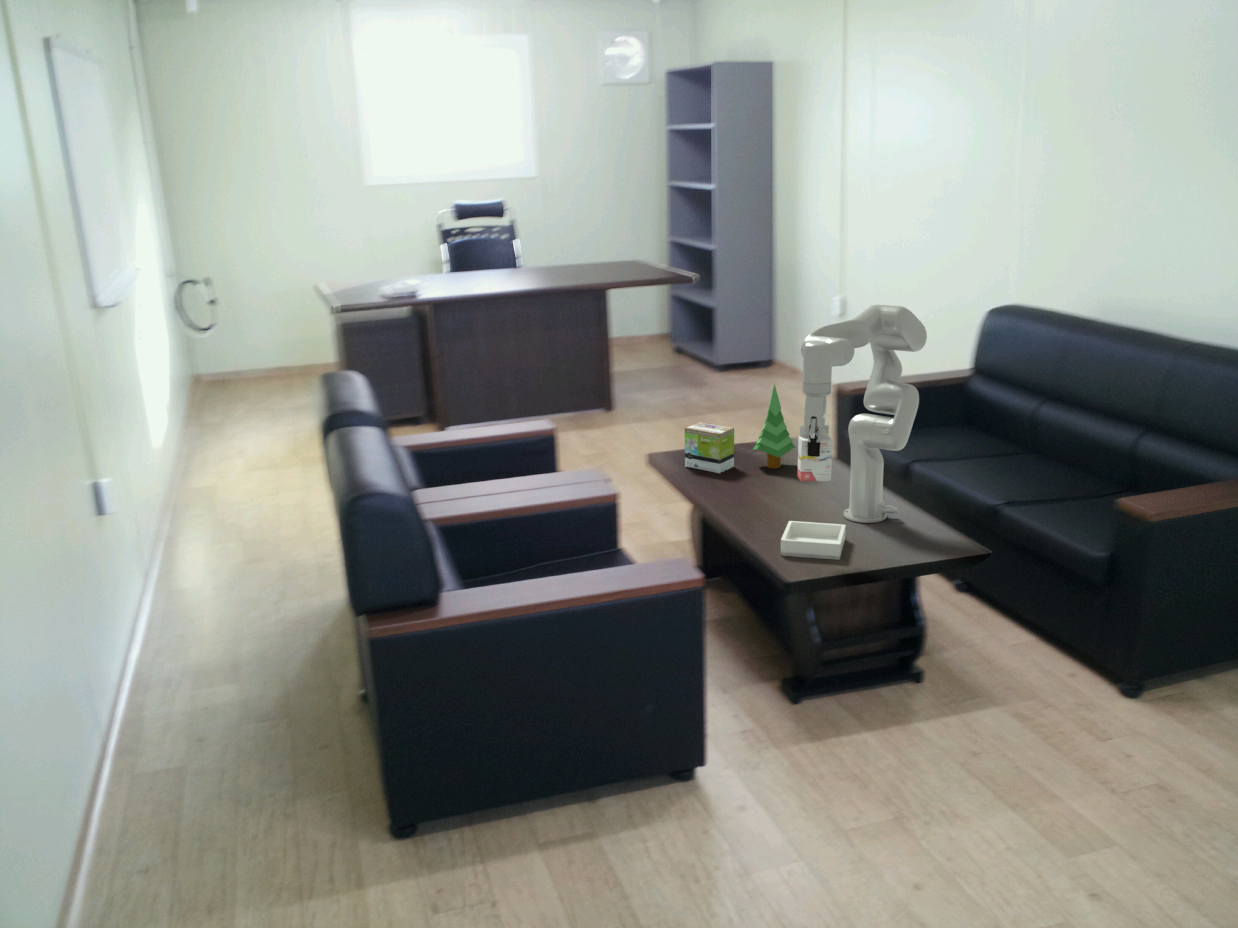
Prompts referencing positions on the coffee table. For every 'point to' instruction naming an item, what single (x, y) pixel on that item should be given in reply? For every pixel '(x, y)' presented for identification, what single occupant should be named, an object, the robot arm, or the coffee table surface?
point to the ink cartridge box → (811, 465)
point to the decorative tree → (774, 434)
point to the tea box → (709, 447)
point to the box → (813, 540)
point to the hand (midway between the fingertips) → (815, 452)
